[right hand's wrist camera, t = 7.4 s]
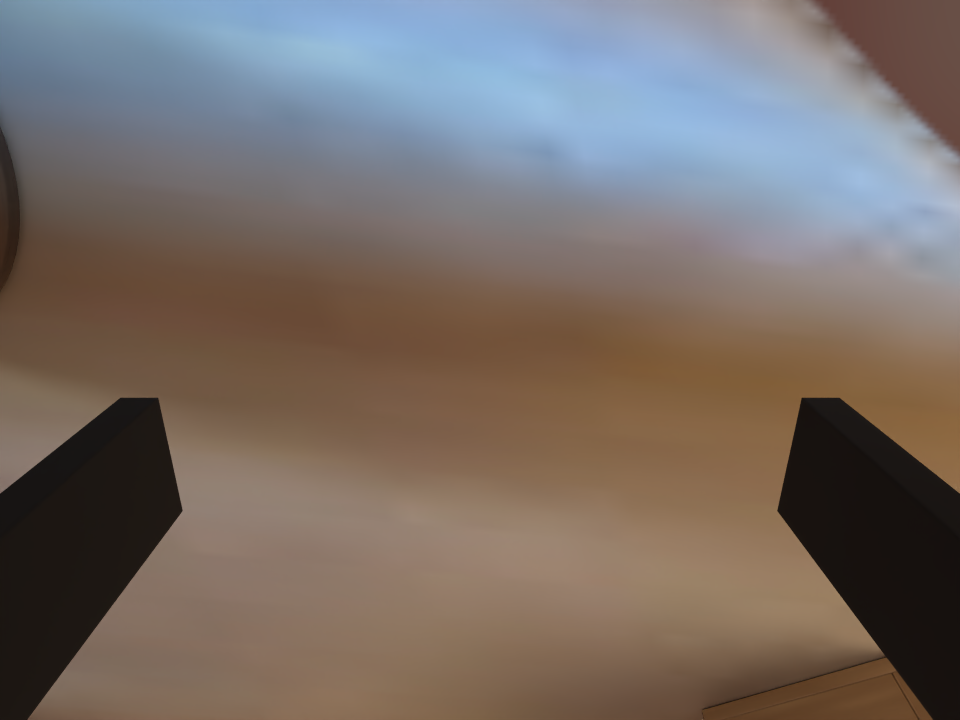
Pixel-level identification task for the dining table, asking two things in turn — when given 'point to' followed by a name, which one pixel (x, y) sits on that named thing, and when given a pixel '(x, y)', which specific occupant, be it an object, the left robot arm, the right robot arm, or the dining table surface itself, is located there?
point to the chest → (832, 698)
